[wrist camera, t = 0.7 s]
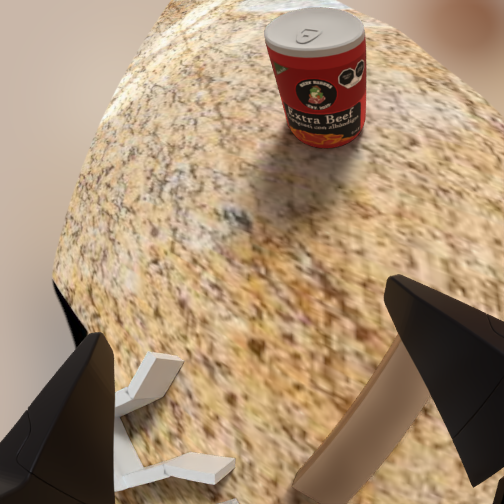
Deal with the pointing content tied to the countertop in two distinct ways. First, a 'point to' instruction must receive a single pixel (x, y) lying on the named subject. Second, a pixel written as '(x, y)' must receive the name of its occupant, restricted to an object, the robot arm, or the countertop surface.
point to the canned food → (320, 73)
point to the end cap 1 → (125, 458)
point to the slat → (366, 431)
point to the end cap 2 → (230, 501)
